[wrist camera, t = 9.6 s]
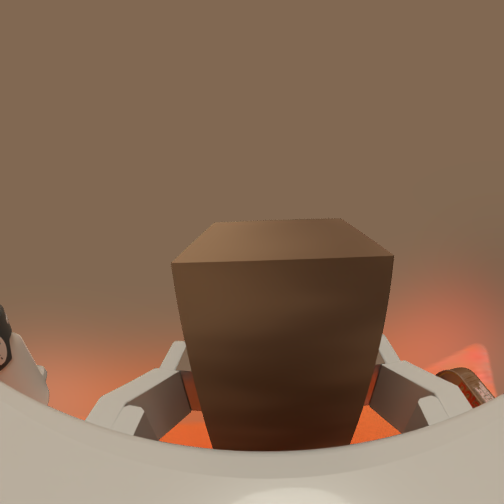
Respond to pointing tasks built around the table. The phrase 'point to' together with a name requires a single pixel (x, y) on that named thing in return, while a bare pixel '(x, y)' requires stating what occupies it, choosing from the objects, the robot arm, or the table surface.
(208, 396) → the peg
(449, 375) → the tin
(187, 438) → the table surface
